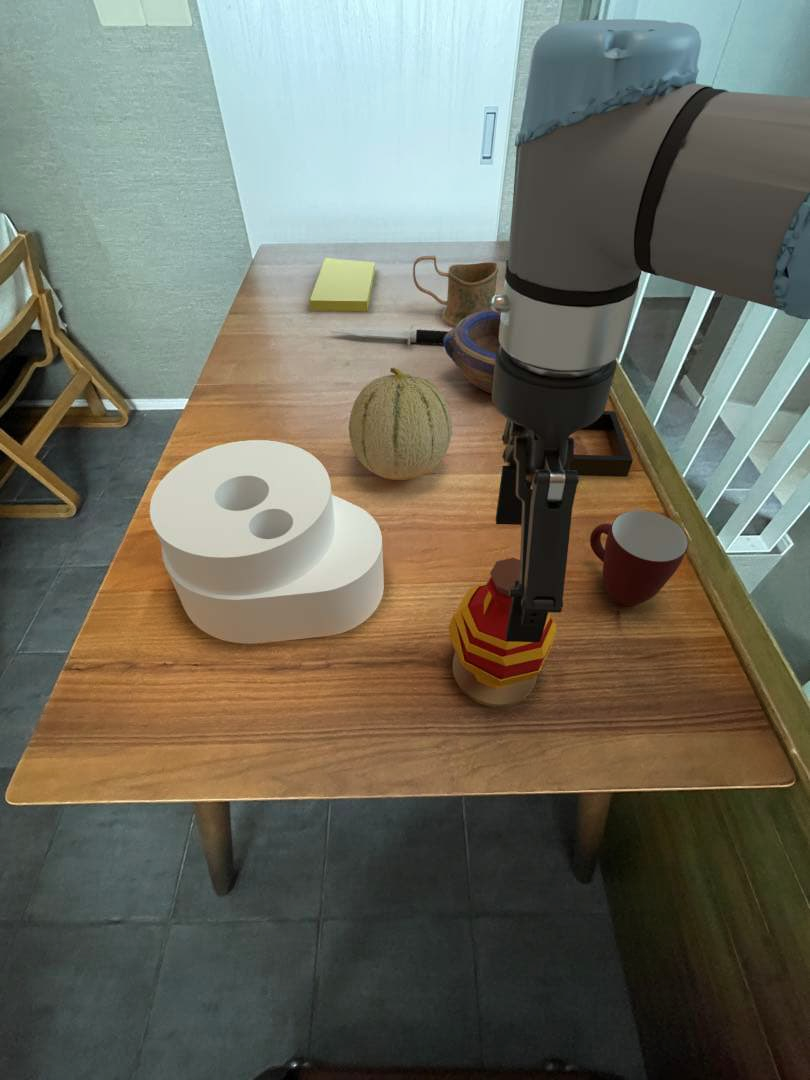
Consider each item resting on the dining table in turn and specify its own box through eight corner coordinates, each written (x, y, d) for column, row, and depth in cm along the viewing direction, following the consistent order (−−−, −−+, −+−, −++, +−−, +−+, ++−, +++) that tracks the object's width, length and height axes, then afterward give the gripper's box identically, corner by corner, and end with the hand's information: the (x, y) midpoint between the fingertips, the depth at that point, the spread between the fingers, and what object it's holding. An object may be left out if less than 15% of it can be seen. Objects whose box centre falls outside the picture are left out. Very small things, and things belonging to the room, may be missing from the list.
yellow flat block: (367, 311, 125) (375, 267, 141) (366, 301, 123) (375, 258, 140) (310, 310, 125) (326, 267, 142) (309, 300, 123) (325, 257, 140)
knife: (461, 326, 114) (459, 338, 111) (460, 338, 116) (459, 350, 112) (331, 319, 116) (326, 330, 113) (332, 330, 118) (327, 342, 115)
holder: (627, 476, 86) (633, 460, 84) (541, 473, 86) (544, 457, 84) (610, 426, 95) (615, 411, 92) (532, 424, 95) (535, 409, 93)
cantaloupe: (385, 515, 80) (382, 422, 69) (333, 459, 89) (323, 370, 78) (470, 476, 86) (479, 386, 75) (414, 428, 94) (415, 341, 84)
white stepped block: (359, 667, 63) (350, 586, 53) (149, 626, 67) (105, 543, 57) (400, 539, 77) (399, 455, 67) (224, 511, 81) (199, 428, 71)
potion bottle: (493, 612, 68) (510, 518, 57) (563, 672, 62) (596, 580, 51) (425, 662, 63) (429, 569, 52) (494, 732, 57) (514, 644, 47)
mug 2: (560, 580, 72) (577, 521, 65) (598, 548, 76) (618, 489, 68) (635, 632, 66) (663, 574, 59) (672, 595, 70) (703, 536, 63)
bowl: (497, 422, 95) (505, 367, 88) (430, 377, 106) (431, 323, 99) (573, 388, 103) (585, 334, 96) (503, 348, 113) (509, 296, 106)
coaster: (552, 664, 63) (553, 661, 63) (506, 724, 59) (507, 721, 58) (483, 621, 67) (483, 618, 67) (435, 673, 63) (435, 670, 62)
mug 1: (413, 304, 127) (414, 245, 118) (495, 305, 127) (501, 246, 118) (412, 328, 119) (412, 267, 110) (498, 330, 118) (506, 268, 110)
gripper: (486, 272, 46) (469, 483, 61) (512, 472, 28) (478, 699, 43) (584, 273, 45) (542, 485, 60) (672, 475, 28) (581, 703, 43)
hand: (515, 574), depth 52 cm, fingers open, 13 cm apart
